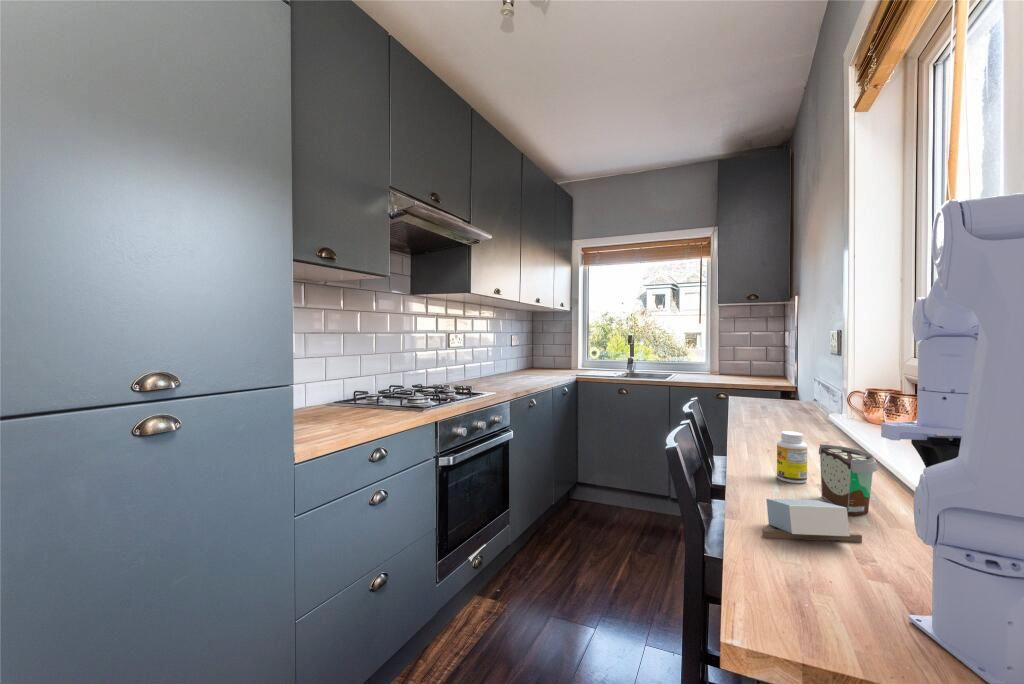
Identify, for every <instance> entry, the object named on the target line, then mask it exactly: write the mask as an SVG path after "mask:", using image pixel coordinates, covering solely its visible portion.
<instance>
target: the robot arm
mask: <svg viewBox="0 0 1024 684" xmlns="http://www.w3.org/2000/svg"><path fill="white" fill-rule="evenodd" d="M931 233H932V235H931V252H932V255H931V256H932V260H933V264H934V266H935V270H936V272H937V277H936V278H935V280H934V282H933V284H932V286H931V288H930V290H929V294H928V295H927V297H917V298H916V300H915V303H914V307H913V309H912V310H913V311H912V321H911V324H912V325H911V327H912V333H913V337H914V340H915V342H917V403H916V404H917V410H916V413H917V414H916V419H915V420H914V421H912V420H911V421H901V422H900V421H899V422H880V423H881V424H880V435H881V436H880V437H882V438H884V439H887V440H890V441H901V440H911V441H910V442H911V445H912V446H913V447H914V449H915V450H916V452H917V454H918V455H919V457H920V459H921V460H922V462H923V465H924V468H923V471H922V473H921V474H920V475H919V479H918V484H917V486H915V488H914V494H913V520H914V521H913V522H914V528H915V529H914V530H915V533H916V536H917V537H918V538H919V540H920V541H922V542H923V544H924V545H926V546H930V547H931V548H932V581H931V582H932V583H931V584H932V586H931V588H932V592H931V593H932V594H931V595H932V596H931V615H920V614H910V615H908V620H909V621H910V622H911V623H913V624H914V625H915V626H916V627H918V628H919V629H920V630H921V631H922V632H924V633H925V634H926V635H927V636H929V637H930V638H931V639H932V640H934V641H935V642H936V643H937V644H939V645H940V646H941V647H942V648H944V649H945V650H946V651H948V653H949V654H951V655H952V656H954V657H955V658H956V659H957V660H959V661H961V662H962V664H964V665H965V666H966V667H968V668H969V670H972V672H974V673H975V674H977V675H978V676H979V677H980V678H981V679H983V680H984V681H985V682H987V683H988V684H1024V192H1018V193H1013V194H1012V193H1010V194H1003V195H996V196H995V195H994V196H987V197H981V198H980V197H978V198H970V199H962V200H957V199H948V200H946V201H945V202H944V203H943V204H942V205H941V206H940V207H938V208H937V210H936V212H935V215H934V219H933V226H932V232H931Z"/></svg>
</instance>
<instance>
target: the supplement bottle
mask: <svg viewBox="0 0 1024 684" xmlns="http://www.w3.org/2000/svg"><path fill="white" fill-rule="evenodd" d="M780 434H781V435H780V436H781V439H780V440H777V443H776V477H777V478H778V479H779V480H780V481H783V482H785V483H791V484H804V483H806V482H807V480H808V444H807V443H805V442H804V434H803V433H801V432H797V431H789V430H788V431H787V430H786V431H785V430H784V431H781V433H780Z"/></svg>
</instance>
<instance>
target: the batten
mask: <svg viewBox="0 0 1024 684" xmlns="http://www.w3.org/2000/svg"><path fill="white" fill-rule="evenodd" d="M761 531H762V537H763V538H764V539H782V540H783V539H784V540H785V539H786V540H805V541H806V540H808V541H809V540H811V541H828V540H840V541H839V542H852V543H854V542H855V543H862V542H863V535H862V534H861V533H859V532H850V536H830V535H806V534H792V533H789V532H787V531H784V530H782V529H770V528H768V529H767V528H763V529H762V530H761Z"/></svg>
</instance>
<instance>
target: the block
mask: <svg viewBox="0 0 1024 684" xmlns="http://www.w3.org/2000/svg"><path fill="white" fill-rule="evenodd" d="M766 507H767V509H766V510H767V521H768V525H770V526H772V527H774V528H776V529H779V530H784V531H787V532H789V533H792V534H806V535H830V536H850V533H851V532H850V526H849V525H850V524H849V516H848V515H847V508H846V507H842V506H838V505H834V504H831V503H830V502H826V501H825V502H824V501H821V500H818V499H816V500H813V499H789V498H787V499H786V498H766Z"/></svg>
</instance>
